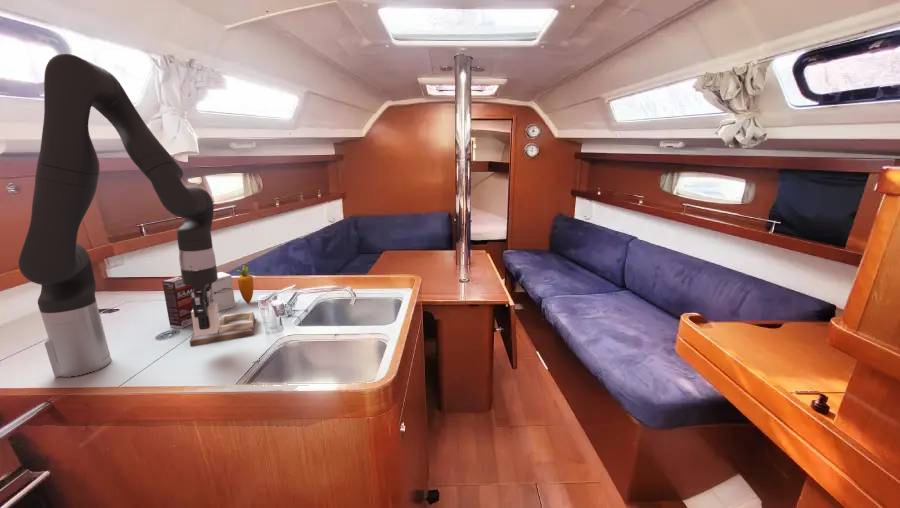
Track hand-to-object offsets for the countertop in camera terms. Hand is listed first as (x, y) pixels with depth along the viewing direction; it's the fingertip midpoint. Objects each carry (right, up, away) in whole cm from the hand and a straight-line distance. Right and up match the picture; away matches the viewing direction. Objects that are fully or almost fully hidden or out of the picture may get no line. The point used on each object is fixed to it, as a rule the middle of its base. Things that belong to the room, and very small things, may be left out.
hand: (206, 324), depth 91 cm
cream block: (0, -2, 0) cm, 2 cm away
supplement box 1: (-21, -4, +20) cm, 30 cm away
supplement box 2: (-19, -1, +33) cm, 38 cm away
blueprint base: (-5, -6, +15) cm, 17 cm away
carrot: (-11, 0, +37) cm, 38 cm away
